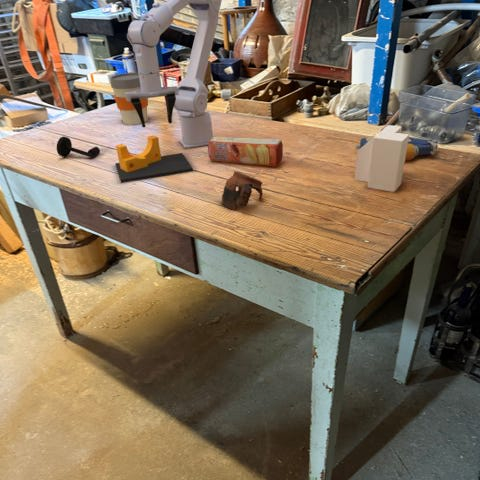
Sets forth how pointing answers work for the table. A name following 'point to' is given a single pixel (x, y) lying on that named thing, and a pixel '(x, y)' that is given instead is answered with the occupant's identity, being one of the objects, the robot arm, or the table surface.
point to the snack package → (246, 150)
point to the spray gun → (412, 146)
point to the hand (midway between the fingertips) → (157, 124)
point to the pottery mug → (240, 190)
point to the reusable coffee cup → (120, 87)
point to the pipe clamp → (141, 160)
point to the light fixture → (66, 147)
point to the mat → (157, 168)
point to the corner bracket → (383, 159)
